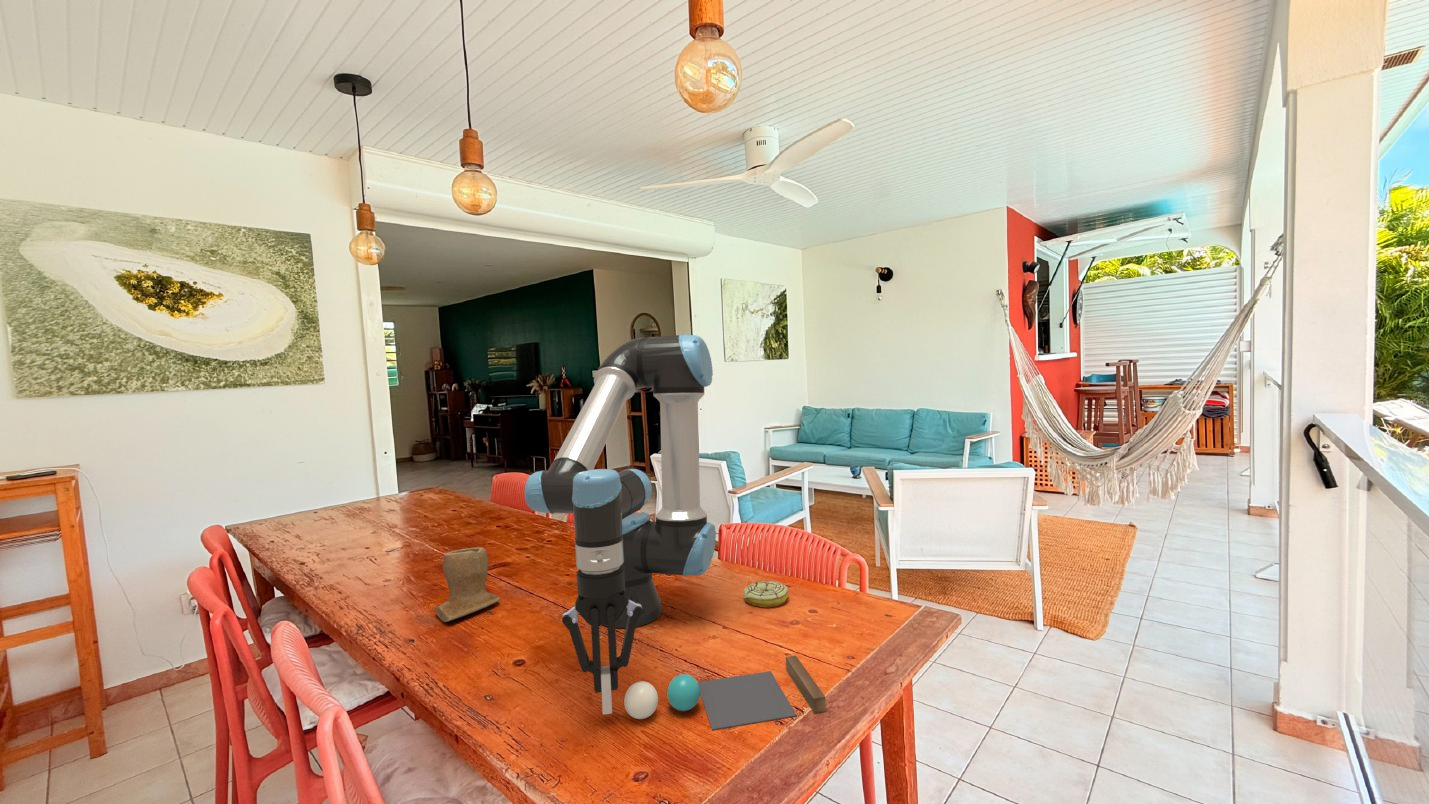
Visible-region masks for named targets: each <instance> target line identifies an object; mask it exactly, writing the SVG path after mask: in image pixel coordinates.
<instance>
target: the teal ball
mask: <svg viewBox="0 0 1429 804" xmlns="http://www.w3.org/2000/svg"><path fill="white" fill-rule="evenodd" d="M698 682H699V681H698V680H696V678H695V677H694V676H692V675H690V674H687V673H686V674H685V673H682V674H678V675H676V676H675V677H673V678H672V679H671V681H670V682H669V684H668V687H667V691H666V692H667V694H666V695H667V699H668V702H669V704H670V706H671V707H673V708H674V709H676V710H677V711H680V712H688V711H690V710H692V709H693V708H694V707H696V705H697V704H698V703H699V700H700V698H701V695H700V687H699V684H698Z"/></svg>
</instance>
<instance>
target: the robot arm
mask: <svg viewBox="0 0 1429 804" xmlns="http://www.w3.org/2000/svg"><path fill="white" fill-rule="evenodd" d="M713 372H714V370H713V364H712V358H711V355H710V350H709V348H708V346H707V343H706V342H705V340H704V339H703V338H702V337H701V336H699V335H694V334H693V335H692V334H679V335H664V336H662V335H661V336H648V337H647V336H646V337H645V336H643V337H637V338H634V339H631V340H628V341H625V342H624V343H622V344H621V345H620V346H618V347H617V348H616V349H615V350H613V351H612V352H611V353H610V354H608V355H607V357H606V358H605V359H604V360H603V361H602V363H601V364H600V365H599V366H598V368H597V371H596V372H595V374H594V376H593V383H594V386H593V387H592V389H591V391H590V393H589V395H588V397H587V399H586V400H585V401H584V404H583V406H582V408H581V409H580V411H579V413H578V415H577V417H576V418H575V420H574V423H572V426H571V428H570V430H569V432H568V433H567V436H566V437H565V439H564V441H563V443H562V445H561V447H560V448H559V451H558V452H557V453H556V455H555V458H554V459H553V461H552V463H551V464H550V467H549V468H548V469H547V470H539V471H535V472H534V473H532V474H530V475H529V477H528V478H527V480H526V482H525V486H524V500H525V503H526V505H527V506H528V508H529V509H530V510H531V511H533V512H537V513H543V514H544V513H545V514H551V515H554V514H573V522H574V536H575V537H574V540H575V541H574V547H575V562H576V563H575V564H576V565H575V566H576V568H577V569H578V570H577V572H576V584H577V585H576V587H577V598H576V600H575V602H574V603H575V604H574V606H572V608H570V609H569V610H568V609H567V610H564V611H563V613H562V618H561V623H562V624H563V625H564V627H566V628H567V630H568V631H569V636H570V638H571V641H572V643H573V647H574V650H575V653H576V657H577V660H578V662H579V666H580V669H581V672H583V673H585V674H586V673H592V675H593V690H594V692H595V694H599V693H601V705H602V706H601V708H602V715H608V714H613V706H612V705H613V702H612V691H617V690H618V688H619V676H618V672H619V670H620V669H621V668H627V666H628V665H629V662H630V658H631V651H632V647H633V641H634V636H635V633H636V632H635V631H636V627H640V626H644V625H647V624H649V623H652V622H654V621H655V620H657V619H658V618H659V617H660V616H661V614H662V602H661V599H660V597H659V594H658V591H657V588H656V585H655V583H654V580H653V579H654V578H653V574H656V575H673V576H683V577H688V576H689V577H690V576H694V577H696V576H697V577H699V576H702V575H704V574H706V573H707V572H708V570H709V568H710V566H711V563H712V560H713V557H714V552H715V547H716V539H717V537H716V534H717V533H716V526H715V525H714V523H711V522H708V518H707V517H708V514H707V512H706V511H705V510H704V509H702V507H701V503H700V502H701V498H700V497H701V495H700V494H701V493H700V492H701V491H700V490H701V489H700V445H699V444H700V443H699V436H700V435H699V434H700V433H699V401H700V400H702V398H703V397H704V396H705V388H706V387H708V386H710V385H711V384H712V381H713V375H714V373H713ZM643 388H647V389H649V388H652V390H653V391H652V392H653V395H652V396H653V397H654V398H655V399H657V401H658V402H659V406H660V408H659V409H660V410H659V411H660V453H661V455H660V456H661V457H660V460H661V461H660V462H661V501H662V502H661V505H662V507H661V509H660V510H659V511H658V512H657V513H656V514H655V520H652V521H651V518H652V517H651V516H650V514H649V513H648V512H638V511H640V510H641V509H642V508H643V507H644V506H645V505H646V504H648V502H649V501H650V499H651V497H652V494H653V493H652V492H653V487H652V483H651V480H650V477H649V476H648V475H647V474H646V473H644V471H642V470H640V469H637V468H630V469H629V468H628V469H623V470H620V471H619V472H618V471H616V470H614V469H609V468H597V469H595V467H596V465H597V462H598V460H599V459H600V456H601V455H602V452H603V450H604V448H605V446H606V443H607V442H608V439H609V436H610V435H611V433H612V430H613V429H614V428H615V427H614V426H615V425H616V422H617V421H618V418H619V416H620V413H621V411H622V409H623V407H624V406H625V404H626V402H627V400H629V399H631V398H633V396H634V395H635V393H636V391H637V390H639V389H643ZM578 614H579V615H578ZM579 616H581V618H583V620H584V621H585V622H586V623H587V624H588V625H590V629H591V630H590V631H591V649H592V659H590V658H589V655H588V651H587V649H586V644H585V642H584V639H583V635H582V633H581V629H580V626H579V623H578V621H579ZM601 626H604V627H607V640H608V644H607V645H608V656H609V657H608V659H609V662H608V663H609V665H606V666H605V665H604V666H602V661H601V660H602V659H601V657H602V656H601V633H600V627H601ZM616 629H624V630H625V631H624V634H623V641H622V646H621V651H620V655H619V656H618V653H617V636H616V635H617V633H616Z"/></svg>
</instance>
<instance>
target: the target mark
mask: <svg viewBox="0 0 1429 804" xmlns="http://www.w3.org/2000/svg"><path fill="white" fill-rule="evenodd" d="M697 682H698V684H699V687H700V698H701V700H702V704H703V706H704V709H705V713H706V716H707V719H708V722H709V725H710V729H711V731H717V730H722V729H723V730H724V729H730V728H734V727H740V726H741V727H742V726H747V725H753V724H758V723H766V722H772V721H776V720H783V719H789V718H795V717H797V716H798V714H797V713H796V712H795V709H794V708H793V706H792V705H791V702H790V701H789V700H788V698H787V696H786V694H785V693H784V691H783V689H782V688H781V686H780V684H779V683H778V681H777V679H776V677H775V676H774V674H773V672H772V671H771V670H769V671H763V672H755V673H749V674H742V675H741V674H740V675H735V676H728V677H723V678H721V677H720V678H716V679H715V678H714V679H710V680H702V681H697Z"/></svg>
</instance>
